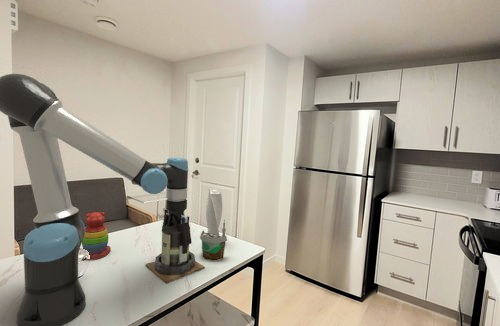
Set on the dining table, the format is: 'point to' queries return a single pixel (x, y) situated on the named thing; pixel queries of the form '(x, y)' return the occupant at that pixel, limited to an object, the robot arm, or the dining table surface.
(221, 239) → the food container
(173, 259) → the coffee can
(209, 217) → the skyscraper
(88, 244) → the stacking bear
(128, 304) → the dining table surface
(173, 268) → the collar
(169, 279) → the board
